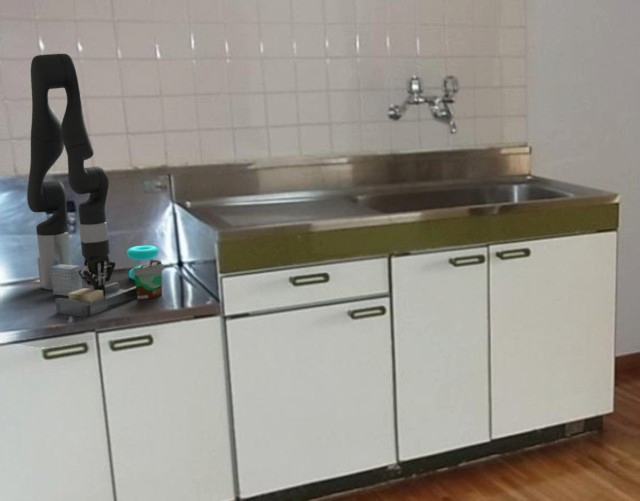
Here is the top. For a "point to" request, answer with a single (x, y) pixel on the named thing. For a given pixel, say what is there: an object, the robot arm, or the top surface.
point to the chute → (87, 309)
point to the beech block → (86, 295)
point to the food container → (149, 280)
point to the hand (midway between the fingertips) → (100, 298)
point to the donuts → (141, 255)
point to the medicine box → (65, 279)
